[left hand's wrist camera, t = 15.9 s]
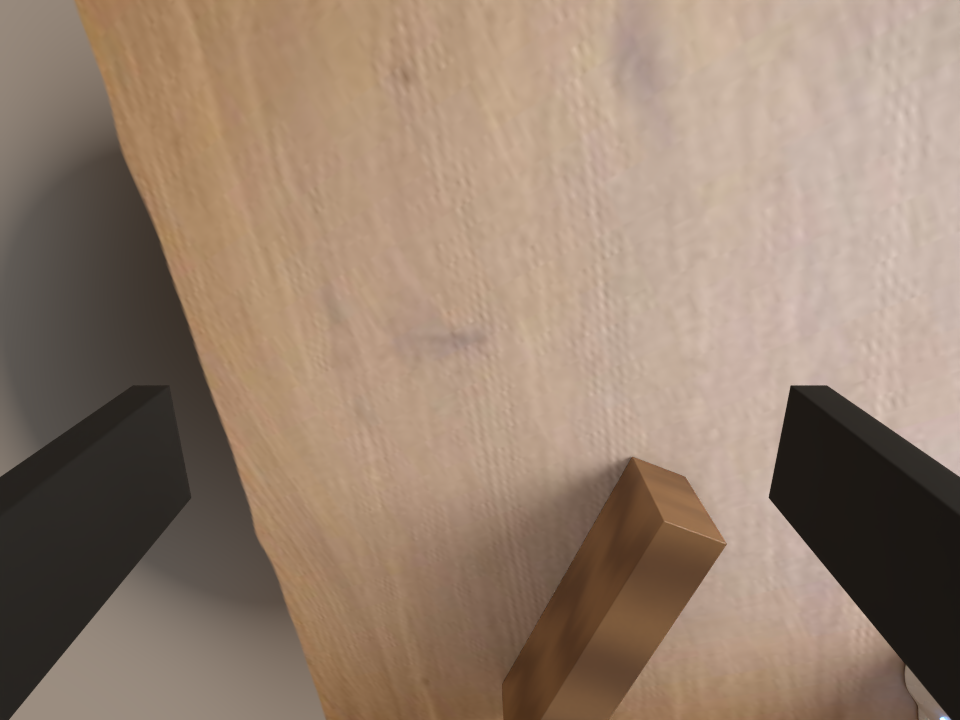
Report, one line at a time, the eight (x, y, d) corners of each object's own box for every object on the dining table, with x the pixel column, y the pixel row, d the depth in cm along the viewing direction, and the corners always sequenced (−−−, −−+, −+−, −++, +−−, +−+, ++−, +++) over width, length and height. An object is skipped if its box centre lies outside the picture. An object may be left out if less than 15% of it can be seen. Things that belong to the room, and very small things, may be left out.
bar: (632, 456, 50) (663, 520, 41) (685, 476, 50) (727, 544, 42) (501, 684, 58) (505, 777, 50) (548, 699, 59) (560, 792, 51)
